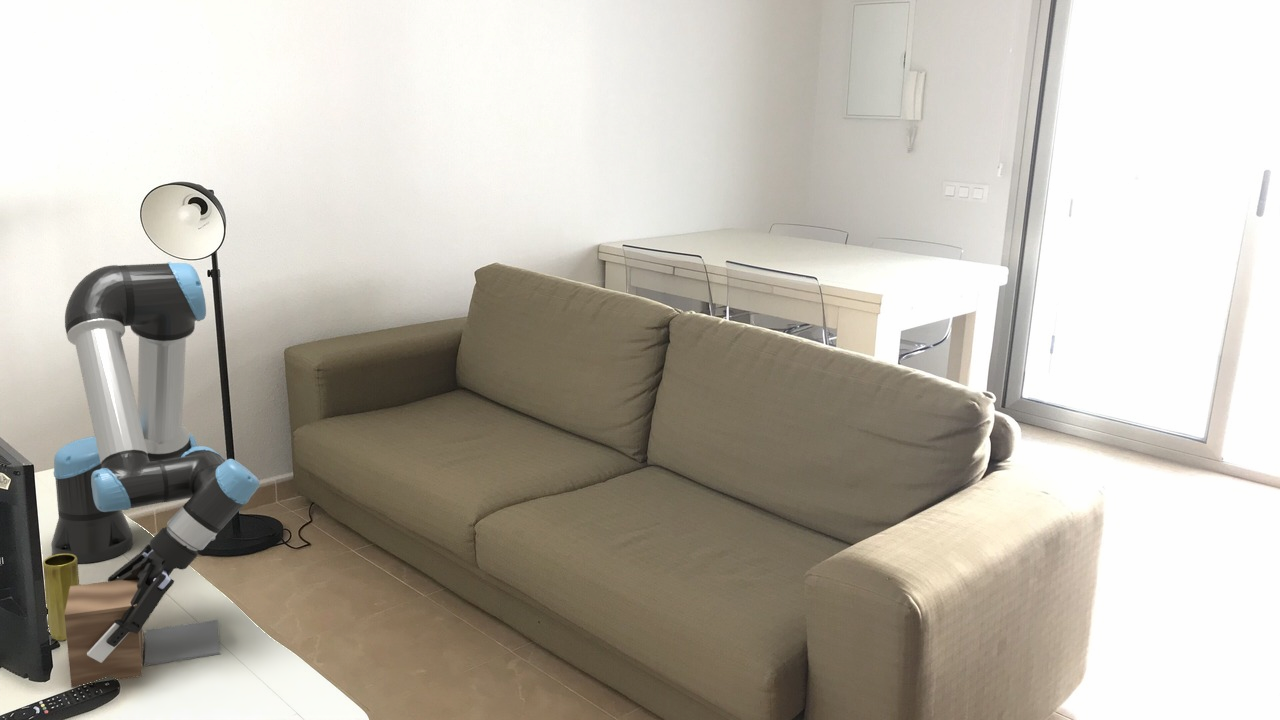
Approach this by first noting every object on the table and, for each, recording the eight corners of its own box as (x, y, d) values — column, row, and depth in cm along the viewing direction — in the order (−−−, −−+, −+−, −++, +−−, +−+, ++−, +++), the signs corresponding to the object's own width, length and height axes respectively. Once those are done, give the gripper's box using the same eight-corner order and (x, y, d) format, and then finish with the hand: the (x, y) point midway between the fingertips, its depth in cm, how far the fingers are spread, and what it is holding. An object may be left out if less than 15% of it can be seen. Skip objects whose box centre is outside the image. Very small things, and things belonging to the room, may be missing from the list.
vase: (78, 640, 181) (72, 566, 177) (41, 641, 180) (34, 567, 176) (91, 623, 186) (84, 551, 183) (54, 624, 185) (47, 552, 182)
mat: (146, 631, 185) (146, 629, 185) (217, 621, 190) (217, 619, 189) (144, 665, 174) (144, 663, 174) (220, 654, 179) (220, 652, 179)
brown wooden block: (76, 655, 176) (70, 586, 173) (143, 645, 180) (138, 577, 177) (71, 687, 167) (64, 614, 164) (141, 676, 171) (136, 605, 168)
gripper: (215, 578, 168) (118, 685, 163) (186, 524, 187) (98, 619, 183) (178, 555, 164) (78, 664, 159) (152, 502, 183) (62, 599, 178)
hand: (89, 640), depth 171 cm, fingers closed on brown wooden block, 12 cm apart
